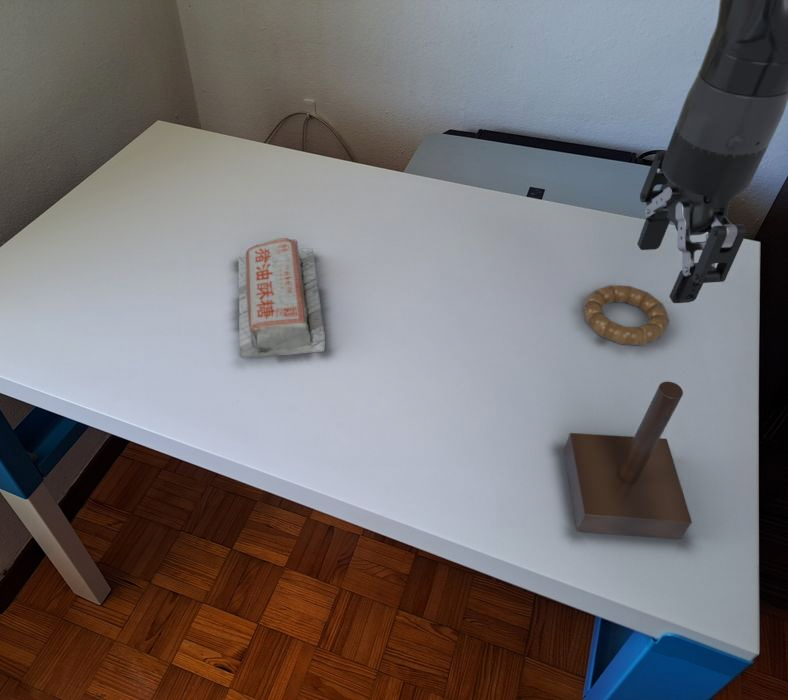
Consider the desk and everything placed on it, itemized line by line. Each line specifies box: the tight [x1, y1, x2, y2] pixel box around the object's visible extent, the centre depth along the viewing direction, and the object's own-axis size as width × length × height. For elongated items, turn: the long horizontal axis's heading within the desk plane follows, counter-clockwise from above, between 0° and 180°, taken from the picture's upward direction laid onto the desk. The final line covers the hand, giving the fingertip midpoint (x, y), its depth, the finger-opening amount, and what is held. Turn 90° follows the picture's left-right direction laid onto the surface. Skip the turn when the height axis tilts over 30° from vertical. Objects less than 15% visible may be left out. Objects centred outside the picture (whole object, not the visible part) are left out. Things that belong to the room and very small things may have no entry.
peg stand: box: [563, 381, 693, 540], centre depth 59 cm, size 9×9×15 cm
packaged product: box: [238, 237, 326, 359], centre depth 83 cm, size 18×5×10 cm
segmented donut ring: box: [582, 284, 670, 346], centre depth 80 cm, size 9×9×2 cm
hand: (663, 272), depth 71 cm, fingers open, 8 cm apart
